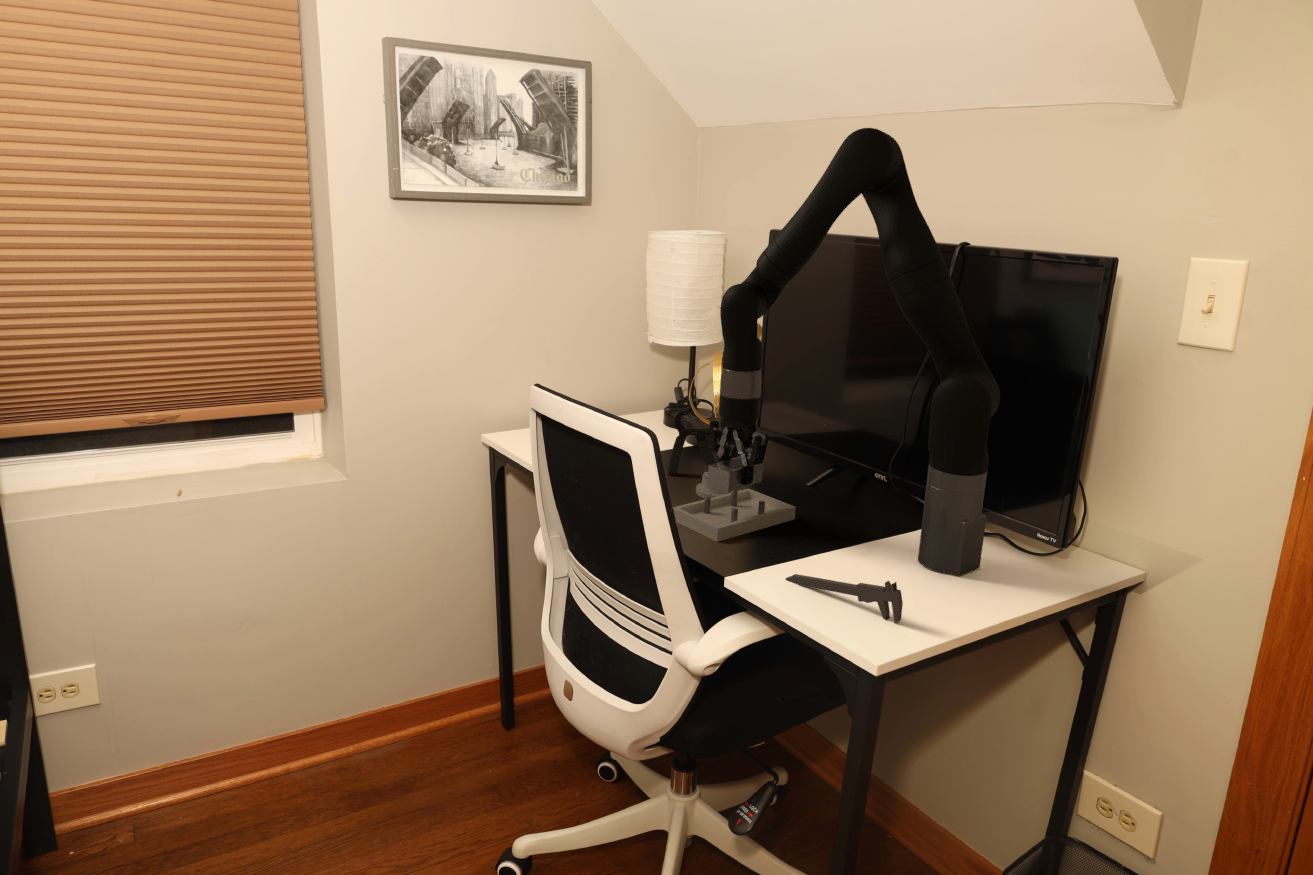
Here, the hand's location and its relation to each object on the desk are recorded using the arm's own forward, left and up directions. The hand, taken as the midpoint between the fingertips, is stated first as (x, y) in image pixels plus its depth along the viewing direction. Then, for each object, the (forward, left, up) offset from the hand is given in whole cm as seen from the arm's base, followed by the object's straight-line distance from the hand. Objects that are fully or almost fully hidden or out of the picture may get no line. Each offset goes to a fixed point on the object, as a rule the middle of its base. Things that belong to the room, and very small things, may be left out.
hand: (735, 479), depth 164 cm
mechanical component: (+13, -8, -9) cm, 17 cm away
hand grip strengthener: (+24, -11, -8) cm, 28 cm away
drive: (0, 0, -1) cm, 1 cm away
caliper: (-35, +10, -9) cm, 37 cm away
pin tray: (0, 0, -8) cm, 8 cm away
